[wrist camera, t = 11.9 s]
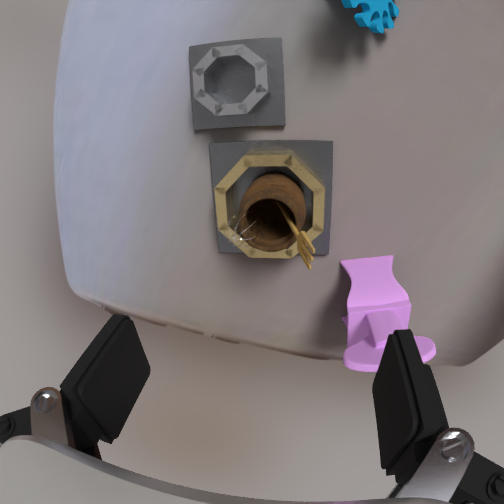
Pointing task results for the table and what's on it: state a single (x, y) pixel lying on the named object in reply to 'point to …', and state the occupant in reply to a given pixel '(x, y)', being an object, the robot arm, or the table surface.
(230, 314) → the table surface
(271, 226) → the utensil holder
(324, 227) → the wide socket
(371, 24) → the gear
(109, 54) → the table surface
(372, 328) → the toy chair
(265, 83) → the narrow socket
